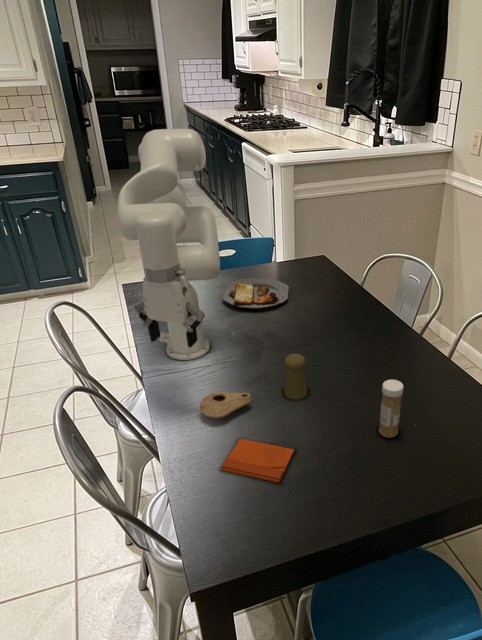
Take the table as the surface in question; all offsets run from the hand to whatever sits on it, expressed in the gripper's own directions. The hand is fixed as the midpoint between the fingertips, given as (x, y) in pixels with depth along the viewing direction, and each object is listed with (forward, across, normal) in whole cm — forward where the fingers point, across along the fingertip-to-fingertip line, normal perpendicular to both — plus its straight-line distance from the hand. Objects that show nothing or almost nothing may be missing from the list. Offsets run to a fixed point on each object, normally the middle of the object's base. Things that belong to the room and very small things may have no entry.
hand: (174, 341), depth 117 cm
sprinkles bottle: (+19, -51, -4) cm, 54 cm away
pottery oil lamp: (+19, -12, 0) cm, 22 cm away
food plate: (+18, +6, -65) cm, 68 cm away
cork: (+19, -25, -13) cm, 34 cm away
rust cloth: (+18, -25, +14) cm, 34 cm away
